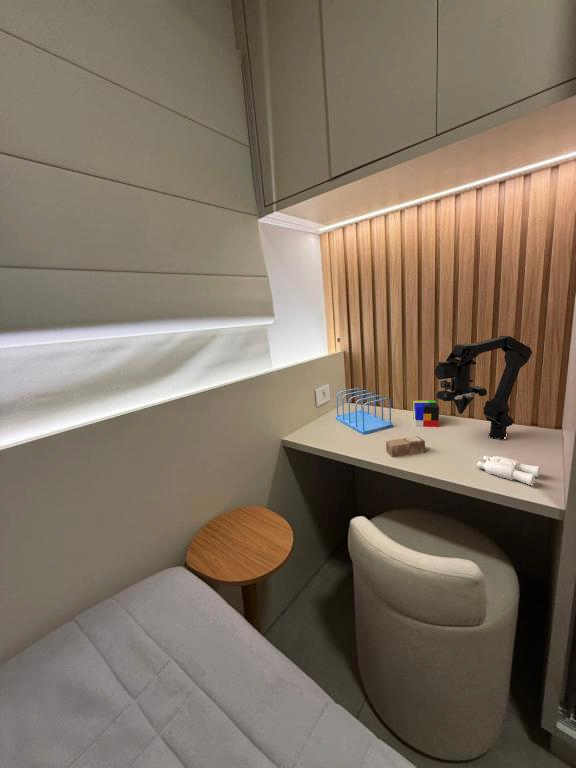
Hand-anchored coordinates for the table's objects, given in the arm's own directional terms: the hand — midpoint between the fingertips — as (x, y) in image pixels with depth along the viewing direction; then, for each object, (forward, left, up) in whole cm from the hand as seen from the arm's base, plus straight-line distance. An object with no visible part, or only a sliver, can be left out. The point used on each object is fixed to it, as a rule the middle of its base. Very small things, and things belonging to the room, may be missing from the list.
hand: (460, 413), depth 130 cm
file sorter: (-5, -44, -13) cm, 47 cm away
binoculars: (+19, +17, -13) cm, 29 cm away
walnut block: (+13, -12, -11) cm, 20 cm away
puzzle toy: (-17, -17, -13) cm, 28 cm away
